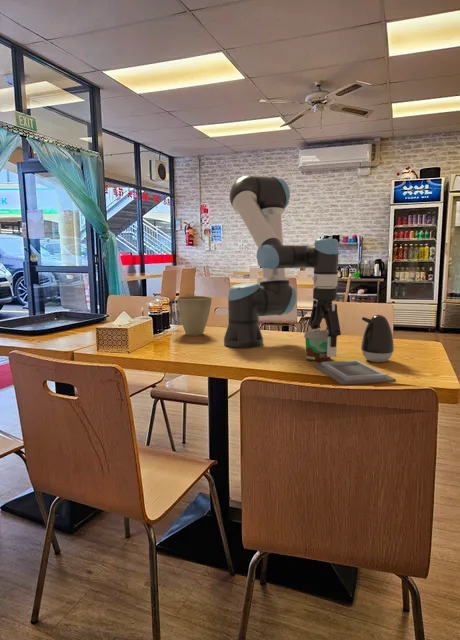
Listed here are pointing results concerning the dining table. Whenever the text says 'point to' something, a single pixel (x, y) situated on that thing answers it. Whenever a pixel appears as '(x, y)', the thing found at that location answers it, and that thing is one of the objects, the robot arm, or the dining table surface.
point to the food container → (316, 346)
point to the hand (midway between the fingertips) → (323, 352)
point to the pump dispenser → (377, 339)
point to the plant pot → (194, 313)
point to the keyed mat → (352, 372)
